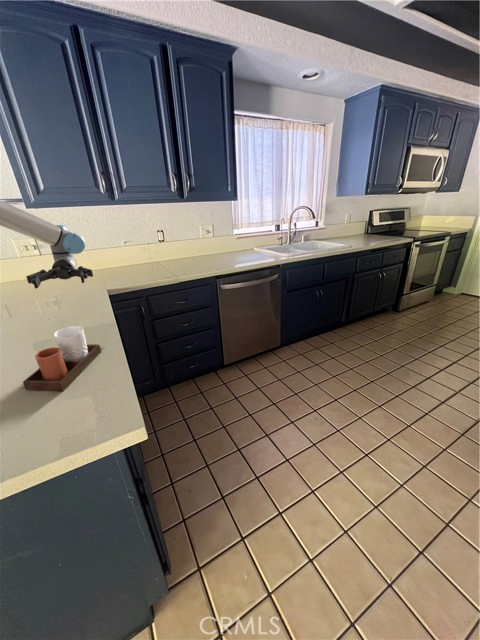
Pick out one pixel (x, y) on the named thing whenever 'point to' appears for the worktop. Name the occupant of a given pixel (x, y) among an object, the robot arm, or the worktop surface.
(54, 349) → the terracotta cup
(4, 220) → the robot arm
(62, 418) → the worktop surface
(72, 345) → the white cup
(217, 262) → the worktop surface
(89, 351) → the tray
